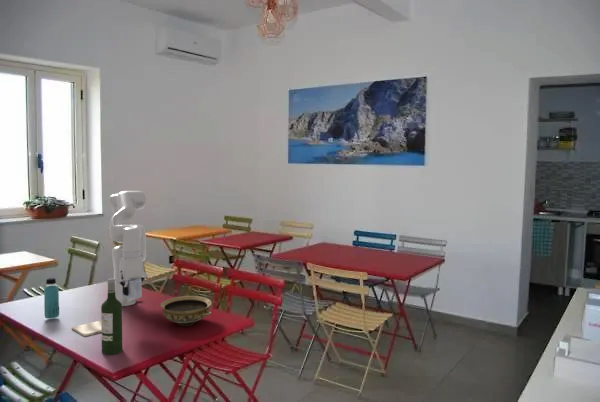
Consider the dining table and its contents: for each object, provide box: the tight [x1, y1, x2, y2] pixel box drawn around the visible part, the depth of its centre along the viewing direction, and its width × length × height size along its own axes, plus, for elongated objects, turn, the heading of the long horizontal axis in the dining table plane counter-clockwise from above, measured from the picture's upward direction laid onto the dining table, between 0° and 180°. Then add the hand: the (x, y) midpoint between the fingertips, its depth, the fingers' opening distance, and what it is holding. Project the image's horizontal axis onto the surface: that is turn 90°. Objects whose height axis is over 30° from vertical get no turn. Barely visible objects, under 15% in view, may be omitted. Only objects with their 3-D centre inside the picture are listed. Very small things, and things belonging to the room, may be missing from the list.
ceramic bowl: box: [159, 295, 212, 327], centre depth 232 cm, size 30×24×10 cm
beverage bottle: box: [43, 277, 60, 319], centre depth 233 cm, size 6×7×20 cm
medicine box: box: [122, 278, 143, 300], centre depth 219 cm, size 8×4×9 cm, turn 64°
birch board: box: [71, 320, 102, 338], centre depth 221 cm, size 13×13×1 cm
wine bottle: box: [100, 277, 123, 356], centre depth 195 cm, size 8×8×30 cm
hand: (131, 293), depth 220 cm, fingers closed on medicine box, 5 cm apart
